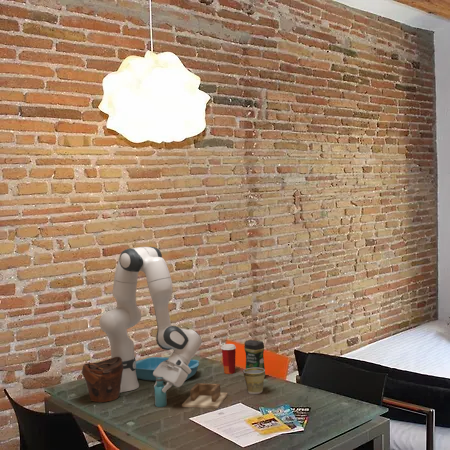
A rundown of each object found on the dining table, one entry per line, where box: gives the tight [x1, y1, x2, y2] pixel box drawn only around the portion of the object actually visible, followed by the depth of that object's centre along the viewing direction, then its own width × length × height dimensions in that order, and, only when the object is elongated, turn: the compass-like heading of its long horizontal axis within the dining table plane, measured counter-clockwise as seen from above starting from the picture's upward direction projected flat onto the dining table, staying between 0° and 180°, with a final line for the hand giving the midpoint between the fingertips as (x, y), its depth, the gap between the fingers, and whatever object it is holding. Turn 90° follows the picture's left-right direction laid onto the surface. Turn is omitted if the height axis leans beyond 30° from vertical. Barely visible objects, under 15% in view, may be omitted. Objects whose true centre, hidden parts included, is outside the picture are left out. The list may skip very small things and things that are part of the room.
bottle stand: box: [181, 382, 229, 409], centre depth 272 cm, size 16×18×6 cm
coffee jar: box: [243, 339, 266, 378], centre depth 304 cm, size 10×8×19 cm
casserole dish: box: [136, 356, 200, 383], centre depth 314 cm, size 37×22×7 cm, turn 66°
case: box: [81, 357, 123, 403], centre depth 282 cm, size 18×20×18 cm
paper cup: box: [220, 343, 237, 375], centre depth 315 cm, size 8×8×14 cm
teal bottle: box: [153, 377, 168, 408], centre depth 269 cm, size 5×5×12 cm
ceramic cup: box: [242, 368, 266, 395], centre depth 283 cm, size 13×10×10 cm
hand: (159, 389), depth 269 cm, fingers closed on teal bottle, 5 cm apart
